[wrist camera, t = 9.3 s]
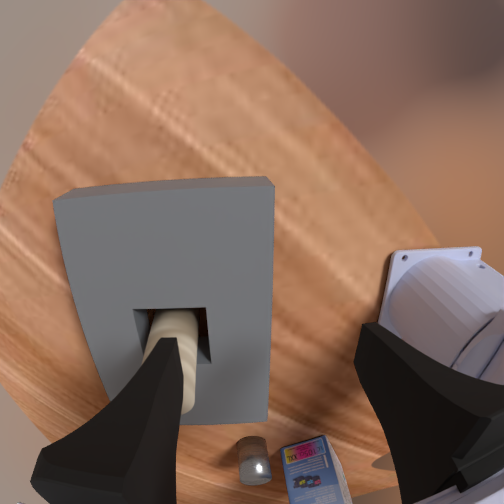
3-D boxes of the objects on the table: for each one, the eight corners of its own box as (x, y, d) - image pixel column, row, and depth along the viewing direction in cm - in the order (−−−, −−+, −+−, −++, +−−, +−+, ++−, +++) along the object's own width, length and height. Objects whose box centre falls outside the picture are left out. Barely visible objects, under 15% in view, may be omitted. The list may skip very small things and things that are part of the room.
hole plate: (266, 176, 19) (274, 186, 16) (262, 394, 26) (267, 421, 23) (73, 188, 18) (52, 200, 15) (125, 396, 24) (119, 422, 22)
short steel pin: (266, 434, 28) (272, 471, 24) (265, 449, 29) (271, 483, 25) (236, 437, 28) (239, 473, 24) (237, 451, 29) (240, 486, 25)
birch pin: (198, 292, 21) (192, 378, 14) (200, 328, 22) (196, 417, 15) (154, 292, 21) (129, 376, 13) (159, 328, 22) (141, 414, 15)
